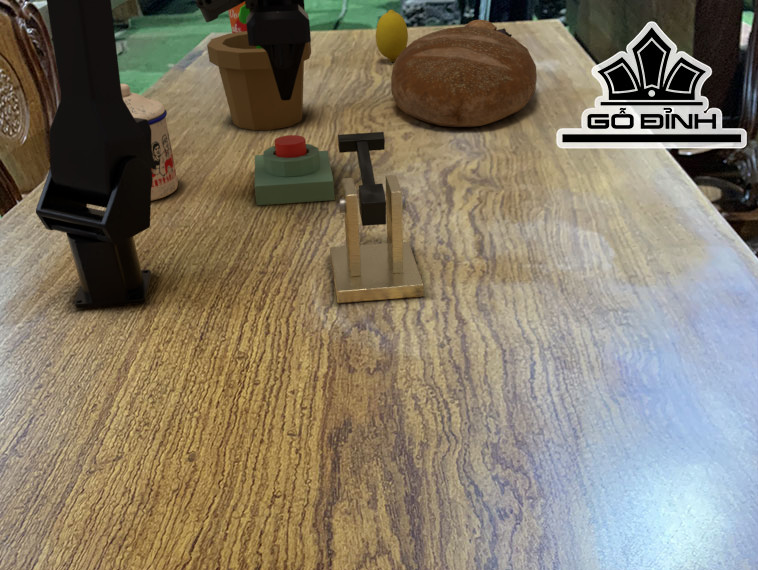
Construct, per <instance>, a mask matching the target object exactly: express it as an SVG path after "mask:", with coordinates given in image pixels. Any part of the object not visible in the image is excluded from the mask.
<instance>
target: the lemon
mask: <svg viewBox="0 0 758 570" xmlns="http://www.w3.org/2000/svg"><path fill="white" fill-rule="evenodd" d="M408 42H409V33H408V27H407V23H406V20H405V19H404V18H403V16H402V15H401V14H400V13H398V12H396V11H394V9H389V10H388V11H387V12H385V13H384V14H382V16H380V18H379V20H378V21H377V23H376V29H375V43H376V47H377V50H378V51H379V53H380V54H381V55H382V56H383V57H384V58H387V60H388V61H389V62H390V63H395V61H396V59H397V58H398V56H399V55H400V53H401V52H402V51H403V50H404V49H405V48H406V47H407V46H408Z"/></svg>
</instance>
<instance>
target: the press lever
mask: <svg viewBox="0 0 758 570" xmlns="http://www.w3.org/2000/svg"><path fill="white" fill-rule="evenodd" d="M385 141H386V139H385V134H384V131H374V132H362V133H361V132H359V133H358V132H357V133H345V134H343V133H342V134H337V146H338V153H339V154H341V153H342V154H343V153H356V156H357V162H358V166H359V167H358V168H359V172H360V179H361V184H358V210H359V214H360V221H361V226H362V227H367V226H381V225H387V215H386V193H385V189H384V184H383V183H376V180H375V174H374V169H373V163H372V158H371V153H370V152H372V151H385V150H386V149H385V148H386V146H385V145H386V143H385Z"/></svg>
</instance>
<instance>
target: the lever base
mask: <svg viewBox="0 0 758 570" xmlns="http://www.w3.org/2000/svg"><path fill="white" fill-rule="evenodd" d="M341 181H342V182H341V183H342V198H339V199H338V207H339V215H340V216H343V217H344V229H345V230H344V232H345V246H344V245H343V246H329V254H330V263H331V269H332V276H333V283H334V287H335V296H336V301H337V304H347V303H359V302H370V301H371V302H372V301H383V300H396V299H397V300H399V299H410V298H423V297H424V283H423V280H422V275H421V274H420V270H419V267H418V265H417V261H416V259H415V256H414V253H413V251H412V247H411V244H410V241H404V228H403V227H404V223H403V221H404V219H403V211H406V208H407V201H406V195H405V194H404V193H403V191H402V187H401V185H400V182H399V180H398V176H397V174H389V175H385V199H386V242H384V243H370V244H369V243H368V244H361V243H360V226H359V225H360V224H359V202H358V194H357V189H356V185H355V180H354V178H353V177H348V178H347V177H345V178H342V179H341Z"/></svg>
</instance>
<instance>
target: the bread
mask: <svg viewBox="0 0 758 570" xmlns="http://www.w3.org/2000/svg"><path fill="white" fill-rule="evenodd" d="M537 80H538V77H537V65H536V62H535V61H534V59H533V57H532V55H531V53H530V52H529V49H528V48H527V47H526V46H525V45H523V44H522V43H521V42H520V41H518V40H517V39H516V38H514V37H513V36H511V37H510V36H508V35H506V34H504V33H502V32H500V31H496V30H492V29H488V28H483V27H475V26H468V27H464V26H457V27H456V26H455V27H447V28H443V29H440V30H436V31H433V32H430V33H427V34H425V35H423V36H421V37H419V38H417V39H414V40H412V42H411V43H409V44H407V46H406V48H405V49H404V50H403V51H402V52H401V53H400V55H399V56H398V58H396V60H395V61H394V62H393V66H392V70H391V79H390V89H391V95H392V97H393V100H394V102H395V103H396V105H397V107H398V108H399V109H400V110H401V111H402V112H404V113H405V114H406V115H409V116H410V117H413V118H414V119H418V120H420V121H423V122H426V123H428V124H432V125H435V126H439V127H450V128H473V127H481V126H486V125H490V124H492V123H496V122H498V121H500V120H503V119H505V118H507V117H509V116H511V115H513V114H515V113H517V112H519V111H522V109H523V108H525V107H526V106H527V104H528V103H529V101H531V99H532V97H533V96H534V94H535V93H536V88H537Z"/></svg>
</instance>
